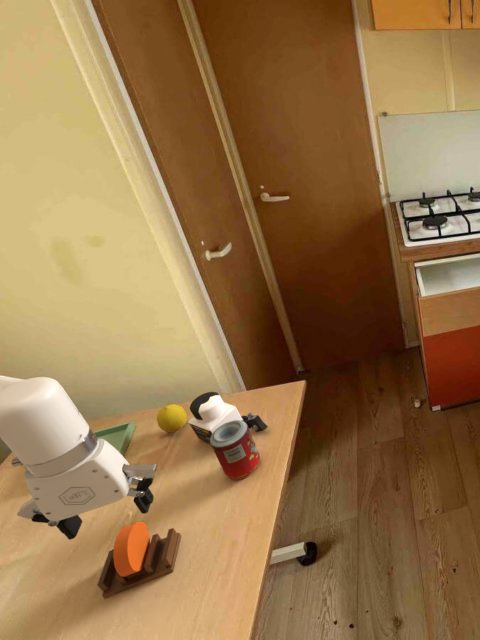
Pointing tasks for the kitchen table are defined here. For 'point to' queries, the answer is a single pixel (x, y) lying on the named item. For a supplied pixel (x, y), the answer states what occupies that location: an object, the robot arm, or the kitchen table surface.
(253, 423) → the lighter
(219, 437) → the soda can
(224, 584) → the kitchen table surface
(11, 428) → the robot arm
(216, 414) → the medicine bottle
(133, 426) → the tray
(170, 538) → the rack
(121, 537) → the disc
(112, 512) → the kitchen table surface
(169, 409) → the lemon
